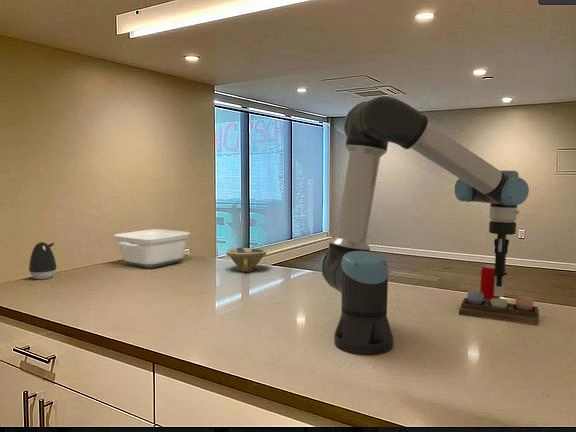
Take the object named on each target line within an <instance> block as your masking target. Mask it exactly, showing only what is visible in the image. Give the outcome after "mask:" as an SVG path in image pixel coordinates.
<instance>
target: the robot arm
mask: <svg viewBox="0 0 576 432" xmlns="http://www.w3.org/2000/svg"><path fill="white" fill-rule="evenodd" d="M343 121H344V122H343V131H344V134H345V136H346V140H345V148H346V150H347V151H348V153H349V155H348V162H347V168H346V175H345V180H344V184H343V186H344V187H343V193H342V197H341V198H342V199H341V203H340V211H339V216H338V223H337V228H336V234H335V237H333V238H332V239H331V240H330V241H329V245H328V250H327V251H326V253H324V255H323V256H322V259H321V262H320V271H321V274H322V276H323V277H322V278H323V279H324V280H325V282H326V283H327V284H328V285H329V286H330V287H331V288H333V289H335V290H336V291H338V292H339V293H341V313H340V317H339V319H338V322H337V325H336V329H335V331H334V335H333V337H334V338H333V339H334V345H335V346H336V347H337V348H339V350H342V351H344V352H347V353H352V354H358V355H379V354H384V353H388V352H389V351H391V350H392V349H393V347H394V335H393V332H392V329H391V325H390V321H389V318H388V290H389V289H388V288H389V287H388V286H389V285H388V283H389V275H390V274H389V266H388V261H387V259H386V258H385V256H383V255H381V254H379V253H377V252H371V247H370V245H369V244H368V242H367V236H368V231H369V225H370V219H371V214H372V208H373V201H374V195H375V190H376V183H377V177H378V173H379V166H380V161H381V157H382V156H384V155H385V154H386V153H387V151H388V146H389V143H392V144H395V145H398V146H400V147H402V148H403V149H404V150H410V149H412V150H414V151H415V152H417V153H419V154H420V155H422V156H423V157H425V158H426V159H428V160H429V161H432V162H433V163H434V164H436V165H438V166H439V167H440V168H441V169H444V170H445V171H446V172H448V173H449V174H451V175H453V176H455V177H456V178H458V179H457V180H456V182H455V184H454V195H455V197H456V199H457V200H458V201H459V202H467V203H471V202H476V203H486V204H490V205H489V219H490V221H489V226H488V229H489V230H488V232H489V233H490V234H493V235H494V234H495V235H497V236H496V237H497V238H494V241H493V244H494V254H495V259H494V261H495V262H494V266H495V272H494V273H493V274H492V275H495V281H494V296H499V297H500V298H503V297H504V294H505V293H504V292H505V276H507V275H508V272H506V259H507V254H508V248H509V244H510V239H508V238H507V236H512V235H515V234H516V233H517V222H515V221H516V220H517V215H518V214H520V210H518V206H519V205H522V204H523V203H524V202H525V201H526V200H527V199H528V197H529V193H530V187H529V185H528V183H527V181H526V180H525V179H523V178H522V177H520V176H519V175H520V174H519V172H518V171H517V170H500V169H498V168H496V167H495V166H494V165H493V164H491V163H489V162H488V161H486V160H485V159H483V158H482V157H480V156H479V155H477V154H476V153H474V152H473V151H471V150H470V149H469V148H468V147H465V146H464V145H462V144H461V143H459V142H458V141H456V140H454V139H453V138H452V137H450V136H449V135H447V134H445V132H443V131H441V130H440V129H438V128H437V127H435V126H434V125H432V124H431V123H430V119H429V117H428V116H426V115H425V114H424V113H422V112H421V111H419V110H417V109H416V108H415V107H413V106H411V105H410V104H408V103H406V102H404V101H403V100H400V99H398V98H396V97H392V96H387V95H386V96H385V95H381V96H378V97H374V98H372V99H370V100H367V101H362V102H359V103H358V104H356V105H354V107H352V108H351V109H350V110H349V111H348V112H347V113H346V115H345V119H344V120H343Z"/></svg>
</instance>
